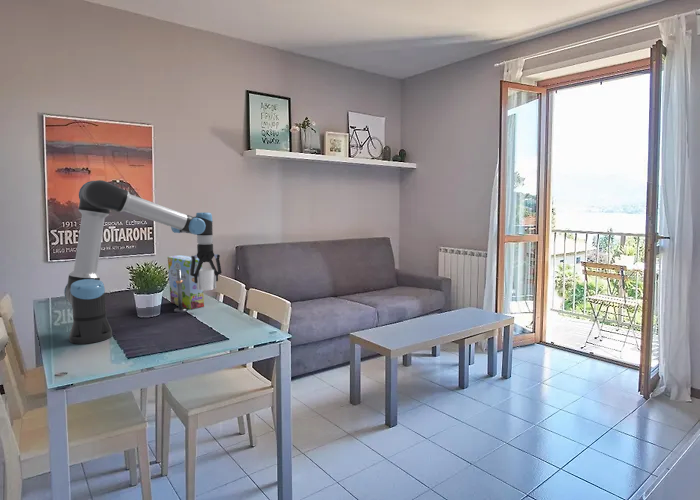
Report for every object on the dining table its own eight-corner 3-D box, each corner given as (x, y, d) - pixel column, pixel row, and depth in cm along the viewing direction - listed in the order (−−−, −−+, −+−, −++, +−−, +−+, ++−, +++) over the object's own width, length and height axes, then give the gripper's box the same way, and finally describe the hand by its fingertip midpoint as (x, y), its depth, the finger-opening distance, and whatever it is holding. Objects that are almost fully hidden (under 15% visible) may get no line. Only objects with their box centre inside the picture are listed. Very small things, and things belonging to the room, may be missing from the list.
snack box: (168, 303, 244) (166, 256, 241) (183, 300, 250) (181, 254, 247) (190, 309, 230) (187, 259, 227) (205, 306, 236) (203, 258, 233)
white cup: (218, 288, 228) (217, 269, 227) (205, 291, 222) (204, 271, 220) (207, 287, 232) (206, 268, 231) (194, 289, 226) (194, 270, 225)
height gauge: (188, 311, 226) (186, 270, 224) (175, 313, 223) (173, 271, 221) (185, 309, 231) (183, 268, 229) (173, 310, 228) (171, 269, 226)
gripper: (223, 242, 233) (224, 285, 235) (182, 243, 222) (183, 289, 225) (227, 243, 227) (228, 287, 229) (185, 245, 216) (187, 292, 218)
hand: (206, 288), depth 227 cm, fingers closed on white cup, 8 cm apart
